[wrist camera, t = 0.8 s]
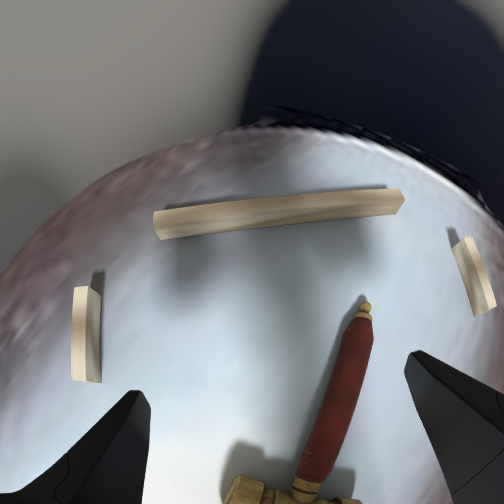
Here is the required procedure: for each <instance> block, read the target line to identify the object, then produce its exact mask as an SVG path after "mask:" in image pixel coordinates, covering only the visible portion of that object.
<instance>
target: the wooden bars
mask: <svg viewBox="0 0 504 504" xmlns="http://www.w3.org/2000/svg"><path fill="white" fill-rule="evenodd" d="M404 201H405V199H404V197H403V195H402V193H401V191H400V189H399V188H396V189H371V190H352V191H335V192H321V193H308V194H296V195H285V196H274V197H264V198H255V199H246V200H237V201H228V202H220V203H212V204H205V205H197V206H190V207H183V208H176V209H169V210H163V211H156V212H154V217H153V227H154V229H155V231H156V232H157V234H158V236H159V238H160V240H165V239H173V238H180V237H188V236H195V235H203V234H211V233H219V232H227V231H235V230H244V229H252V228H261V227H269V226H278V225H287V224H297V223H306V222H316V221H326V220H336V219H346V218H357V217H367V216H379V215H390V214H396V213H397V211H398V210H399V208H400V207H401V205H402V204H403V202H404ZM452 251H453V254H454V256H455V259H456V261H457V264H458V267H459V270H460V272H461V275H462V278H463V281H464V284H465V287H466V290H467V293H468V296H469V300H470V303H471V306H472V310H473V313H474V317H475V316H478V315H480V314H482V313H484V312H486V311H488V310H490V309H492V308H494V307H496V306H497V305H496V301H495V298H494V295H493V291H492V288H491V285H490V282H489V279H488V276H487V274H486V271H485V268H484V265H483V263H482V260H481V257H480V255H479V252H478V250H477V248H476V245H475V243H474V240H473V238H472V236H470V237H464V238H463V239H461V240H460V241H459V242H458V243H457V244H456V245H455V246H454V247H453V248H452ZM100 308H101V295H99V294H98V293H97V292H95V291H94V290H93V289H91V288H90V287H89V286H84V287H75V288H74V299H73V312H72V332H71V374H72V380H76V381H83V382H93V383H101V370H100Z"/></svg>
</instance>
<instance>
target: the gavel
mask: <svg viewBox="0 0 504 504" xmlns="http://www.w3.org/2000/svg"><path fill="white" fill-rule="evenodd" d="M370 310H371V304H370V303H369V302H362V303H361V305H360V312H358V313H356V314H355V315H354V319H353V320H352V322H351V323H350V325H349V327H348V328H347V330H346V331H345V333H344V335H343V339H342V342H341V346H340V349H339V353H338V356H337V360H336V363H335V366H334V369H333V373H332V376H331V379H330V382H329V385H328V388H327V391H326V394H325V397H324V400H323V403H322V406H321V408H320V411H319V414H318V417H317V419H316V422H315V425H314V427H313V430H312V432H311V435H310V437H309V440H308V442H307V445H306V447H305V450H304V452H303V454H302V457H301V459H300V461H299V466H298V470H297V474H296V477H295V479H294V481H293V483H292V484H293V485H294V486H291V487H290V489H289V491H288V492H285V491H281V490H277V489H274V490H270V489H266V488H264V483H263V482H261V481H258V480H255V479H251V478H248V477H245V476H242V475H239V476H237V477H236V478H235V480H234V481H233V483H232V485H231V487H230V489H229V491H228V493H227V495H226V497H225V499H224V501H223V503H222V504H362V502H361V501H360V500H356V499H347V498H338V497H336V498H333V499H332V500H330V502H329V501H326V500H325V499H321V498H316V497H317V495H318V493H317V492H318V491H319V490H320V488H321V486H322V484H323V482H324V481H325V479H326V478H327V476H328V475H329V473H330V472H331V470H332V468H333V466H334V464H335V461H336V459H337V456H338V454H339V451H340V449H341V446H342V444H343V441H344V438H345V436H346V433H347V430H348V427H349V425H350V422H351V419H352V416H353V413H354V410H355V407H356V403H357V400H358V397H359V394H360V390H361V387H362V384H363V380H364V376H365V373H366V369H367V365H368V361H369V357H370V353H371V349H372V345H373V340H374V338H373V329H372V316H371V315H370V314H369V312H370Z"/></svg>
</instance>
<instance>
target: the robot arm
mask: <svg viewBox="0 0 504 504" xmlns="http://www.w3.org/2000/svg"><path fill="white" fill-rule="evenodd" d="M404 374H405V378H406V380H407V383H408V386H409V389H410V392H411V395H412V398H413V401H414V404H415V407H416V410H417V412H418V414H419V417H420V419H421V421H422V423H423V426H424V428H425V430H426V433H427V435H428V437H429V440H430V442H431V444H432V447H433V449H434V452H435V454H436V457H437V459H438V462H439V464H440V467H441V469H442V472H443V475H444V477H445V480H446V483H447V486H448V488H449V491H450V494H451V498H452V501H453V504H504V394H502V393H500V392H499V391H497V390H496V391H495V389H493V388H491V387H489V386H487V385H485V384H483V383H481V382H480V381H478V380H476V379H474V378H472V377H470V376H468V375H466V374H465V373H463V372H461V371H459V370H457V369H455V368H453V367H451V366H450V365H448V364H446V363H444V362H442V361H440V360H438V359H436V358H435V357H433V356H431V355H429V354H427V353H425V352H423V351H421V350H417V351H414V352H411V353H410V354H409V356H408V359H407V362H406V365H405V369H404ZM150 418H151V408H150V405H149V403H148V401H147V399H146V398H145V396H144V394H143V392H142V391H140V390H130V391H128V392H127V393H126V394H125V395H124V396H123V397H122V398H121V399H120V400H119V401H118V402H117V403H116V404H115V405H114V406H113V407H112V408H111V409H110V410H109V411H108V412H107V413H106V414H105V415H104V416H103V417H102V418H101V419H100V420H99V421H98V422H97V423H96V424H95V425H94V426H93V427H92V428H91V429H90V430H89V431H88V432H87V433H86V434H85V435H84V436H83V437H82V438H81V439H80V440H79V441H78V442H77V443H76V444H74V445H73V446H72V447H71V448H70V449H69V450H68V451H67V453H65V454H64V455H63V456H62V457H61V458H60V459H59V460H58V461H57V462H56V463H55V464H53V465H52V466H51V467H50V468H49V469H48V470H46V471H45V472H44V473H43V474H41V475H40V476H39V477H37V478H36V479H35V480H33V481H32V482H31V483H29V484H28V485H27V486H25V487H24V488H22V489H21V490H19V491H16V492H13V493H0V504H142V495H143V487H144V479H145V472H146V465H147V459H148V452H149V439H150Z"/></svg>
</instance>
